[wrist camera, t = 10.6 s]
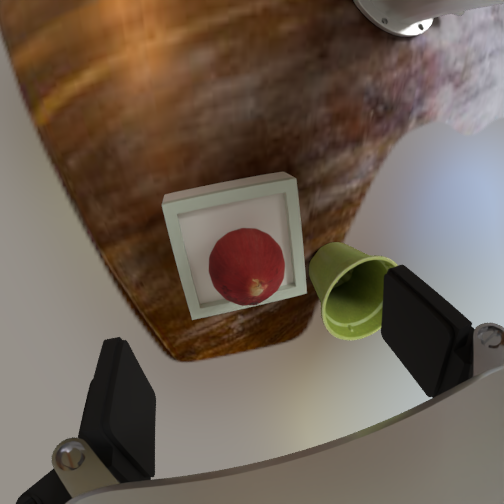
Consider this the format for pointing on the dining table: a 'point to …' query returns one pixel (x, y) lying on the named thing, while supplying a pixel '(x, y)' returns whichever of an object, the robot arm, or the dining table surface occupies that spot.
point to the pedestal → (229, 219)
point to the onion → (246, 266)
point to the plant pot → (349, 289)
